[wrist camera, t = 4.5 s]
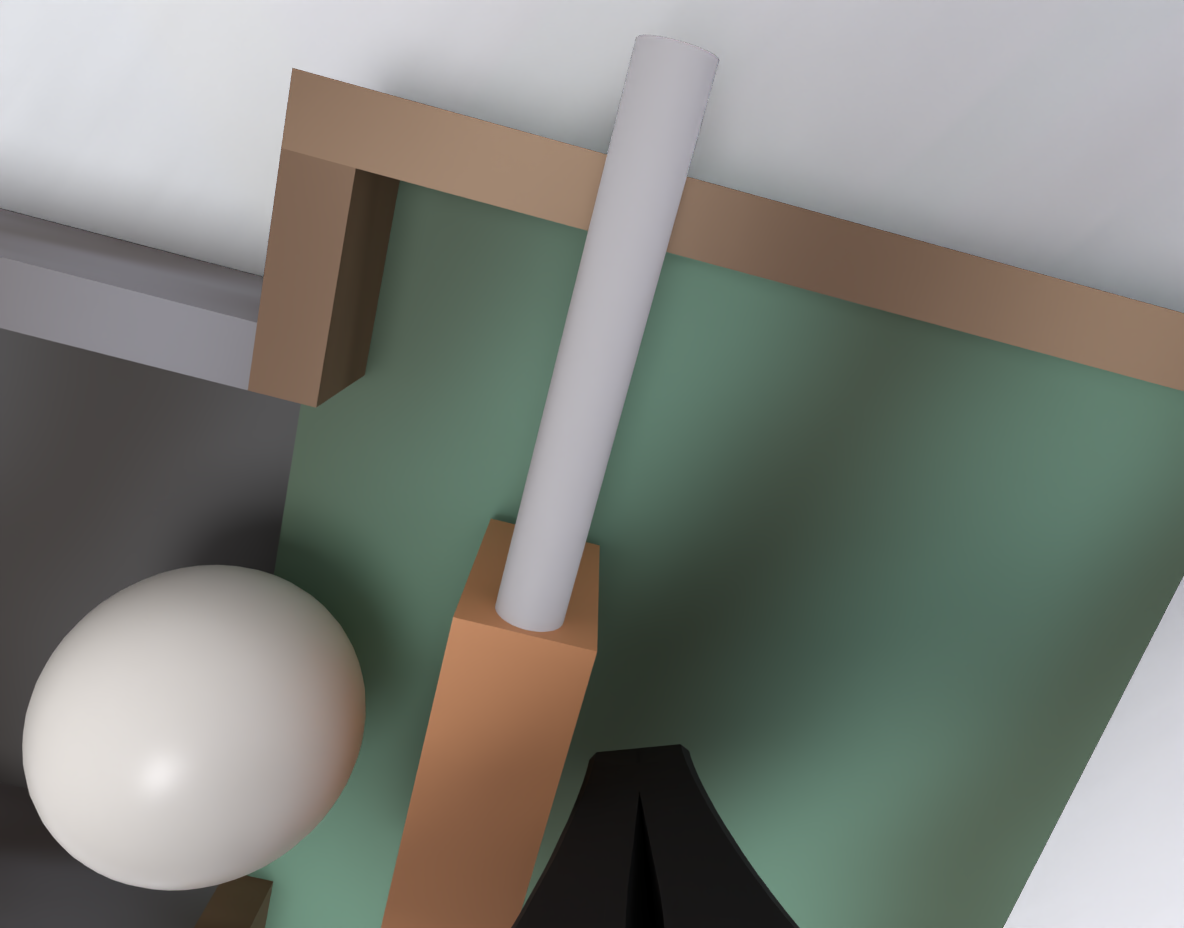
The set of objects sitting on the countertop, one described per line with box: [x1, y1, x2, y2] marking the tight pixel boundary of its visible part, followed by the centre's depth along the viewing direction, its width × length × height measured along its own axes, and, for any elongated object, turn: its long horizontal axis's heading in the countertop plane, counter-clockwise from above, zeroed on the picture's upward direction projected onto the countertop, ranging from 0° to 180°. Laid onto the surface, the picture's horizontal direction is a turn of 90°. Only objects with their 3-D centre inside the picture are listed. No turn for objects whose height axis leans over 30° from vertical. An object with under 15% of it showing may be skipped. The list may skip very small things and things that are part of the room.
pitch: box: [0, 68, 1184, 928], centre depth 12 cm, size 22×16×3 cm
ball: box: [22, 565, 366, 891], centre depth 11 cm, size 4×4×4 cm
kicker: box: [381, 35, 719, 928], centre depth 11 cm, size 2×20×3 cm, turn 166°
